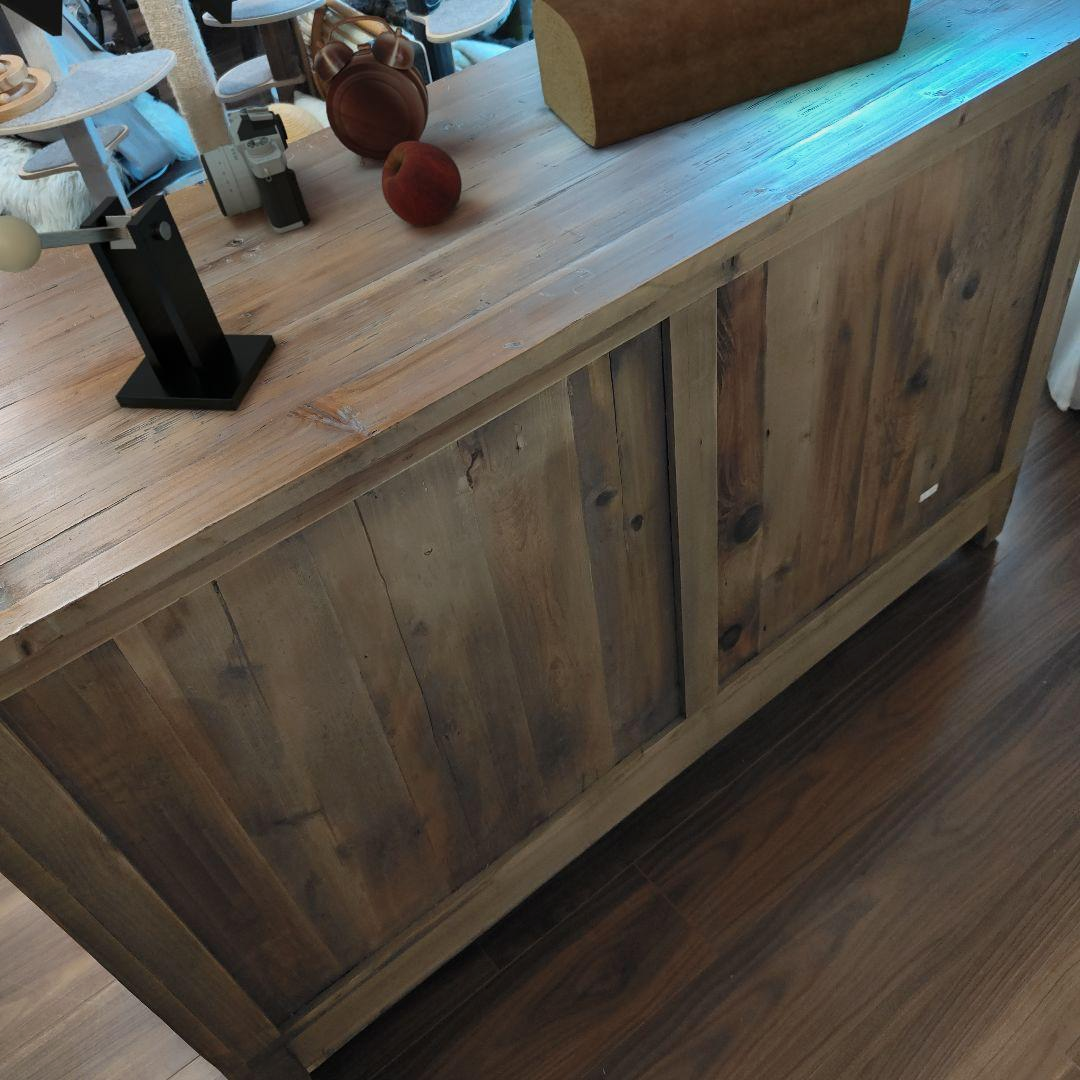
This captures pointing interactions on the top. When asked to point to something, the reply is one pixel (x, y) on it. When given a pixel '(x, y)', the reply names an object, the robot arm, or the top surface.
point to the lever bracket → (173, 318)
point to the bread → (694, 55)
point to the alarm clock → (373, 91)
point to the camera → (256, 170)
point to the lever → (54, 240)
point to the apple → (421, 183)
